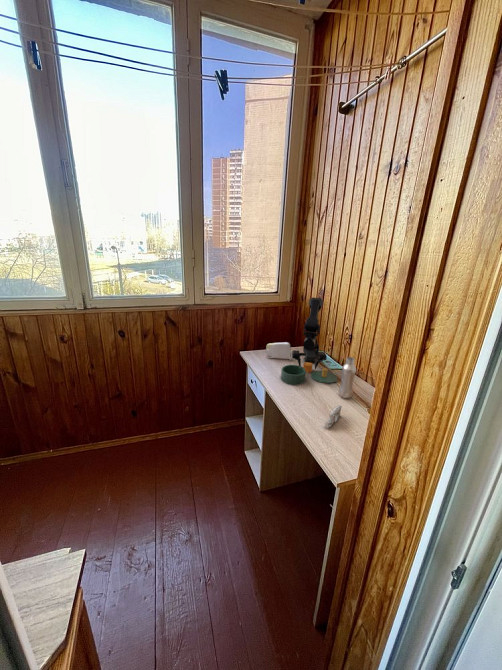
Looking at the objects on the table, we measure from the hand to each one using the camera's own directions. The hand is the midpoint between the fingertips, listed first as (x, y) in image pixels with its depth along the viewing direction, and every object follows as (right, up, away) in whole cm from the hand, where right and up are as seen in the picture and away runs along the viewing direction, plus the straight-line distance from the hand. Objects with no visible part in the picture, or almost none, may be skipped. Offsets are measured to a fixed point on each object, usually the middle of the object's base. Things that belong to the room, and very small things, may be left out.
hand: (307, 368), depth 167 cm
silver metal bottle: (+13, -11, -25) cm, 30 cm away
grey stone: (+2, -17, -44) cm, 47 cm away
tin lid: (+7, -4, -8) cm, 11 cm away
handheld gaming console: (-15, +4, +15) cm, 22 cm away
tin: (-10, -4, -10) cm, 14 cm away
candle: (0, -1, 0) cm, 1 cm away
